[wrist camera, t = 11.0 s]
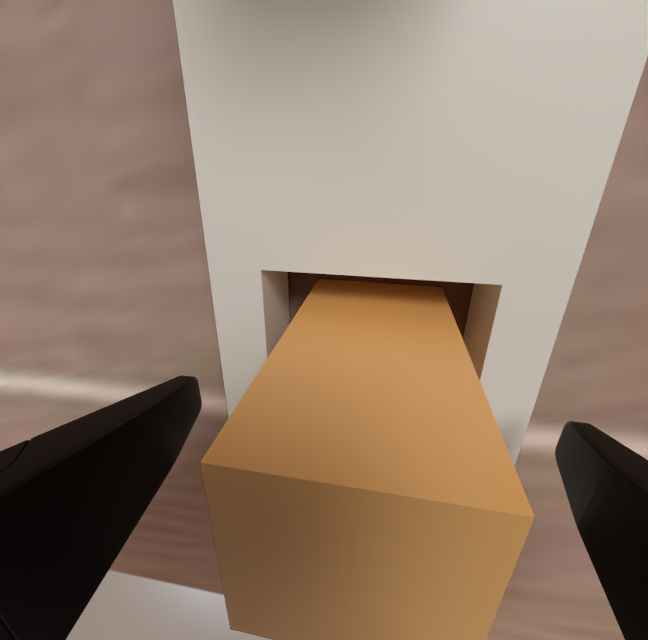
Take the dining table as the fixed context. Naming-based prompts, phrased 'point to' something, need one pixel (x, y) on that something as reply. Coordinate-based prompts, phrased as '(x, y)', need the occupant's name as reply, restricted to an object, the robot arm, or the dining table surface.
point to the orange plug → (365, 478)
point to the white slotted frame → (407, 160)
